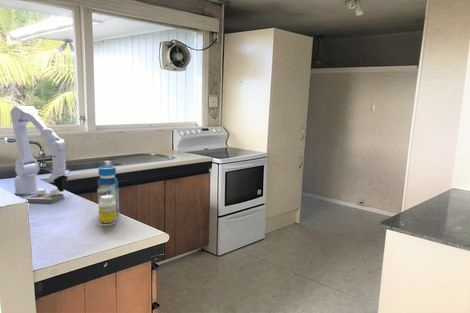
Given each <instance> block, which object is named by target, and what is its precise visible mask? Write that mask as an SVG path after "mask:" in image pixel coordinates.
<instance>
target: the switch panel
mask: <svg viewBox="0 0 470 313" xmlns="http://www.w3.org/2000/svg"><path fill="white" fill-rule="evenodd" d="M64 198H65V196H64V193H59V194H58V195H50V192H49V193H47V192H46V193H45V194H43V195H37V193H35V194H33V195H32V196H29V197H27V198H26V201H27V200H28V202H29V203H30V204H53V203H56V202H58V201H60V200H61V199H64ZM29 203H28V204H29Z"/></svg>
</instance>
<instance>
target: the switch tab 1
mask: <svg viewBox="0 0 470 313" xmlns="http://www.w3.org/2000/svg"><path fill="white" fill-rule="evenodd" d="M45 193H47V192H46V188H37V190H36V193H35V194H37V195H43V194H45Z"/></svg>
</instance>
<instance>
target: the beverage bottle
mask: <svg viewBox="0 0 470 313" xmlns="http://www.w3.org/2000/svg"><path fill="white" fill-rule="evenodd" d="M116 169H117V168H116V166H112V165H107V166H100V167H99V168H98V176H99V179H98V180H97V189H96V190H97V197H98V198H97V200H98V202H97V203H98V204H99V203H100V202H101V196H103V195H113V197H114V199H113V201H115V203H116V215H118V214H119V213H120V200H119V198H120V196H119V190H120V189H119V181H118V179H117V177H116V174H117V170H116Z"/></svg>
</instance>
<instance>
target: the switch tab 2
mask: <svg viewBox="0 0 470 313" xmlns="http://www.w3.org/2000/svg"><path fill="white" fill-rule="evenodd" d="M49 193H50V195H58V194H60V192H59V189H56V188H53V189H50V191H49Z"/></svg>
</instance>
